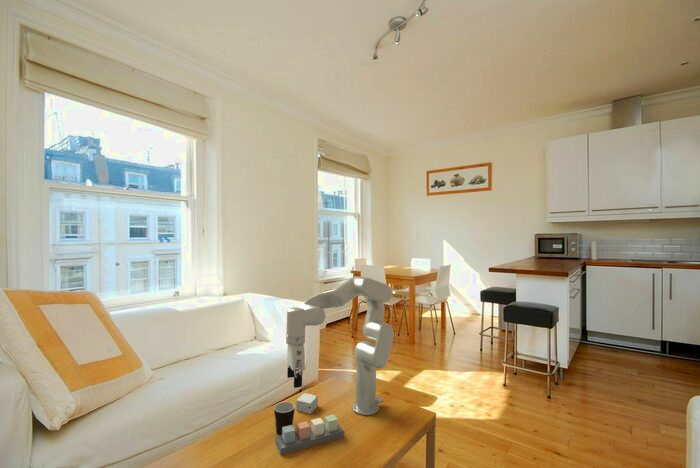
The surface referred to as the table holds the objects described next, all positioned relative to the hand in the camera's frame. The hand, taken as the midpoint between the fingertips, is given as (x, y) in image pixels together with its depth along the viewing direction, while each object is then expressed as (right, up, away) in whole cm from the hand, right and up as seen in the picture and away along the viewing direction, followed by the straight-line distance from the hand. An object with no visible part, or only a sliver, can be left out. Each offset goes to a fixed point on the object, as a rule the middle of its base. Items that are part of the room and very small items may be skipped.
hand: (294, 381), depth 129 cm
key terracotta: (+4, -21, -2) cm, 21 cm away
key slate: (-2, -21, -4) cm, 21 cm away
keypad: (+6, -23, 0) cm, 24 cm away
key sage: (+14, -21, +4) cm, 26 cm away
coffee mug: (-5, -23, +7) cm, 25 cm away
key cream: (+9, -21, +1) cm, 23 cm away
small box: (+2, -24, +24) cm, 34 cm away
